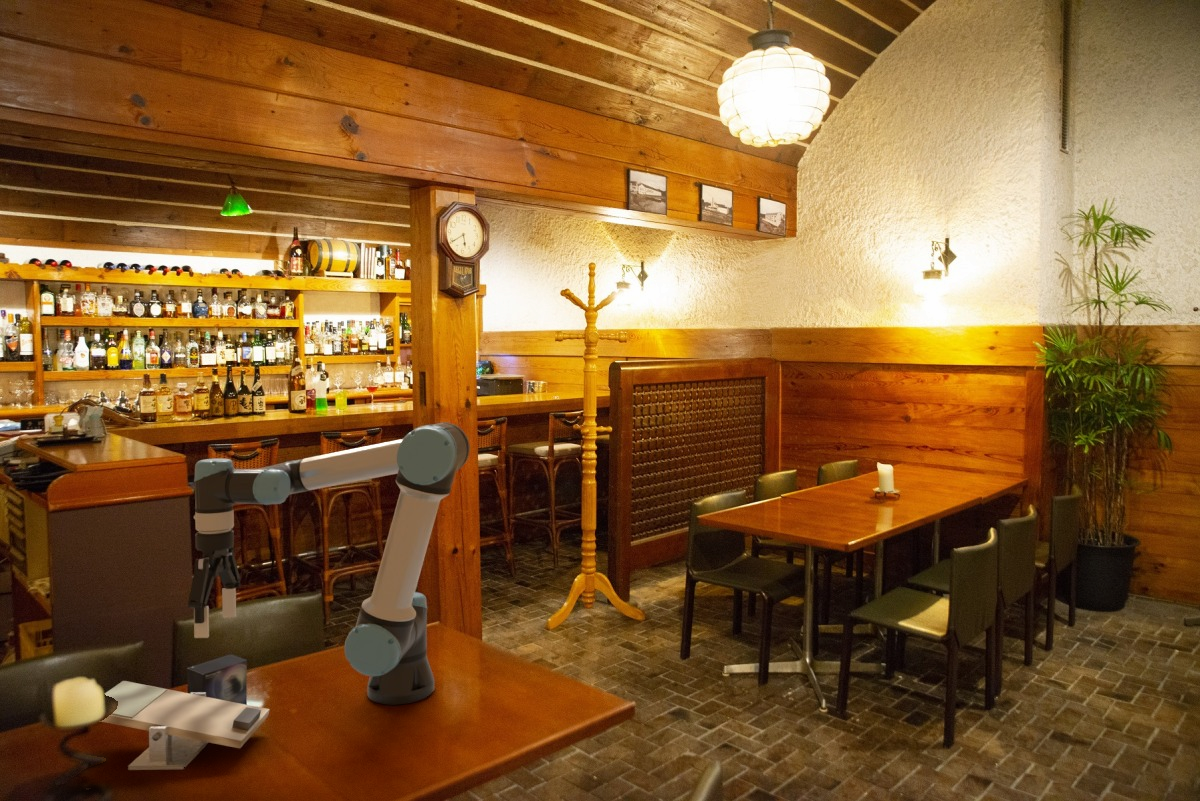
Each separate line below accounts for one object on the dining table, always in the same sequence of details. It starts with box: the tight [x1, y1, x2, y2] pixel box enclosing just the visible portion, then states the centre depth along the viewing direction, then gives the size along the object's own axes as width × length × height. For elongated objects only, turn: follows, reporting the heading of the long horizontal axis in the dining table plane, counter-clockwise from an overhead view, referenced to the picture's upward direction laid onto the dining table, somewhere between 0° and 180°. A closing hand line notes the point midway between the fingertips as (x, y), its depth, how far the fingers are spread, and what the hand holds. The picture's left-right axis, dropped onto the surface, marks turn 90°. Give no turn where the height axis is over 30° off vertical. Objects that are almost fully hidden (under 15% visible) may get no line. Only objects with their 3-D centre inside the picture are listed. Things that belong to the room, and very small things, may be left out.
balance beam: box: [100, 680, 270, 749], centre depth 156 cm, size 30×14×3 cm, turn 92°
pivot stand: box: [127, 692, 209, 771], centre depth 156 cm, size 10×18×8 cm, turn 2°
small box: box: [186, 653, 248, 705], centre depth 173 cm, size 11×6×10 cm, turn 148°
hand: (216, 627), depth 173 cm, fingers open, 13 cm apart
